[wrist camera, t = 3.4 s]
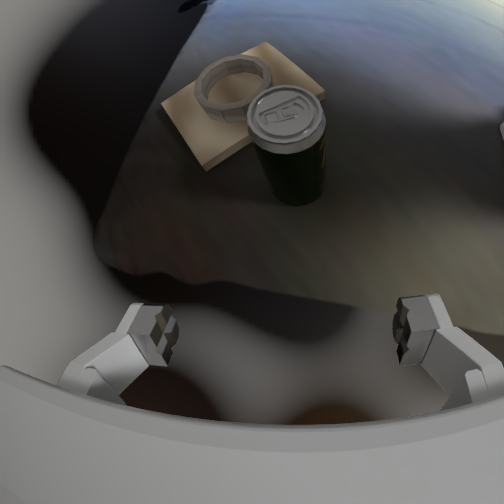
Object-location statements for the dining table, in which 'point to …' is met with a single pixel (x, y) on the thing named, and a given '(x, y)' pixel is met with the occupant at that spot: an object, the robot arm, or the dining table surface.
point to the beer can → (290, 142)
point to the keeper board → (230, 100)
